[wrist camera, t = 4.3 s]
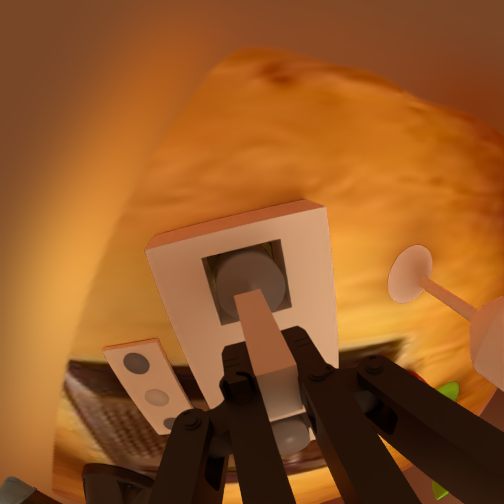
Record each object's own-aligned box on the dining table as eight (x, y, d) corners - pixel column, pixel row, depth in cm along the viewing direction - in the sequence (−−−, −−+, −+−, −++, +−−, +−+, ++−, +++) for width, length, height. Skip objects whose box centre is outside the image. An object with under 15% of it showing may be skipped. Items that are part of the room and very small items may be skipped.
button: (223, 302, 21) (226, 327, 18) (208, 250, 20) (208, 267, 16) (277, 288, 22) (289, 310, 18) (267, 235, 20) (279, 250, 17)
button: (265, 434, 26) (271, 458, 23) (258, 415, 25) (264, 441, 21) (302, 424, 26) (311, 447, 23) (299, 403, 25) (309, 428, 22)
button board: (234, 433, 29) (238, 458, 25) (155, 235, 20) (144, 250, 16) (326, 408, 30) (337, 431, 26) (305, 199, 21) (325, 206, 17)
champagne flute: (418, 305, 27) (562, 431, 4) (378, 301, 26) (544, 466, 3) (439, 251, 25) (608, 354, 3) (400, 238, 24) (612, 368, 1)
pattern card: (159, 431, 27) (158, 435, 26) (103, 347, 22) (101, 352, 22) (204, 425, 27) (204, 430, 27) (157, 338, 23) (156, 343, 22)
